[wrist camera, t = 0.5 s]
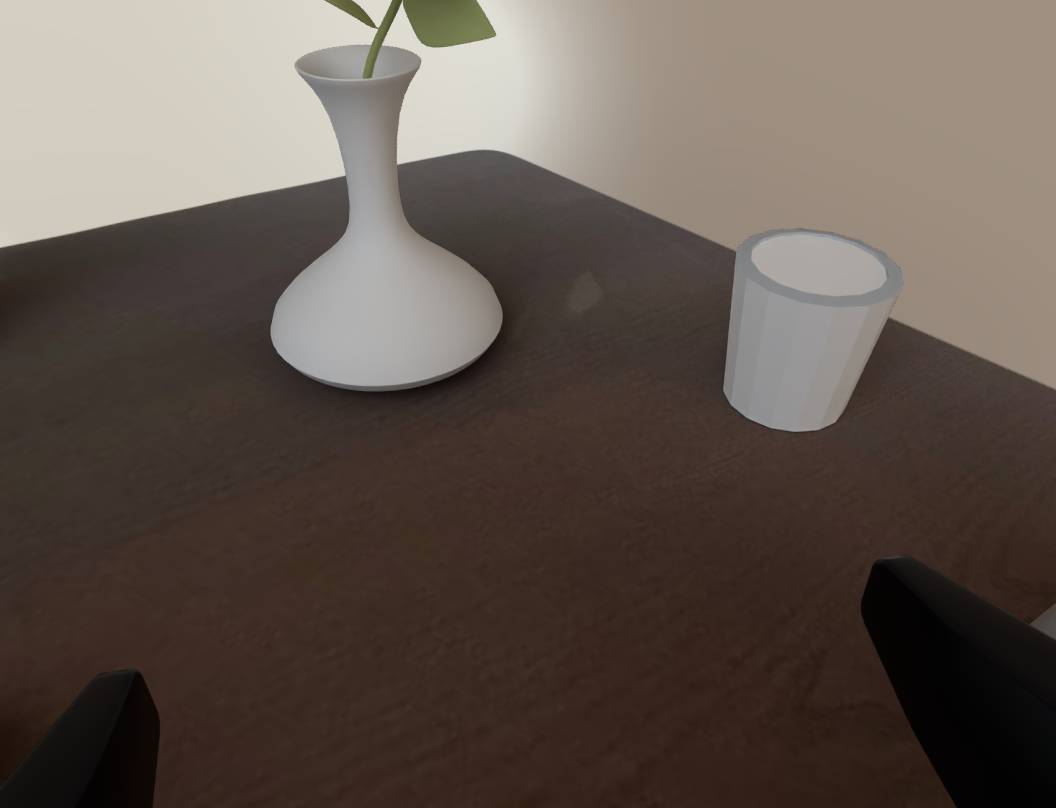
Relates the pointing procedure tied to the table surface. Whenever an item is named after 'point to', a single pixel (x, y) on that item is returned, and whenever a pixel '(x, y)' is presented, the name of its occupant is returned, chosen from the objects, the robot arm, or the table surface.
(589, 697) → the table surface
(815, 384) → the shot glass
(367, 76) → the flower in vase
